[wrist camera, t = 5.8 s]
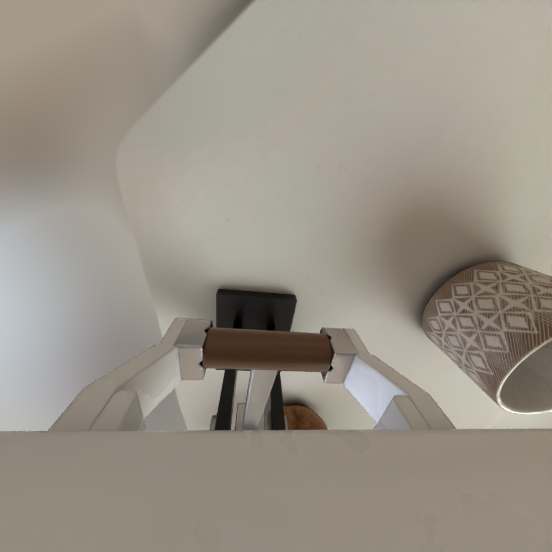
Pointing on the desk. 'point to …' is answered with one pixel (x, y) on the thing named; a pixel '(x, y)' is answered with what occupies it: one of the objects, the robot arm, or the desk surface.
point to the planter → (498, 332)
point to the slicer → (255, 316)
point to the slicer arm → (264, 362)
